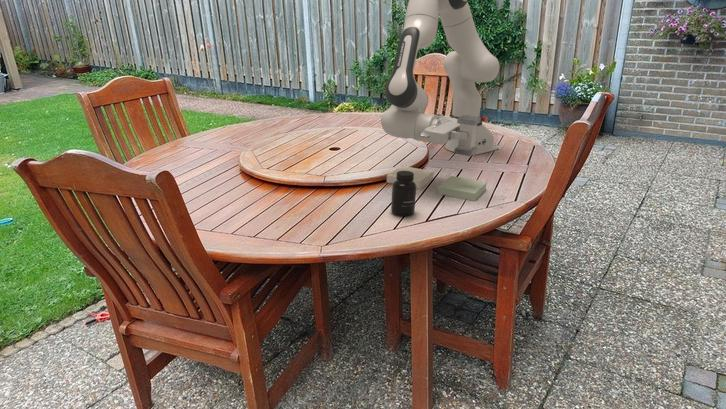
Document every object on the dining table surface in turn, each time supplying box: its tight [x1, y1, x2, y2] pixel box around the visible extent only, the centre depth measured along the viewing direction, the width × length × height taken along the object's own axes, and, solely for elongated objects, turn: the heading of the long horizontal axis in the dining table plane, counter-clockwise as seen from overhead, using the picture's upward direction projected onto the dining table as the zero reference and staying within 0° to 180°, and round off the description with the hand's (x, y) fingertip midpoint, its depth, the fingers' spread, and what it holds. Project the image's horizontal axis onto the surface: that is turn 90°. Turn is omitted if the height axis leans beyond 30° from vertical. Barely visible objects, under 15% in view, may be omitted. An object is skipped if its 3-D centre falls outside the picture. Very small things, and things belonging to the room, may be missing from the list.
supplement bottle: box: [390, 171, 417, 217], centre depth 139 cm, size 7×7×12 cm
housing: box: [453, 115, 482, 157], centre depth 151 cm, size 6×6×11 cm
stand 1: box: [386, 165, 435, 189], centre depth 167 cm, size 12×12×2 cm
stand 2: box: [437, 175, 488, 202], centre depth 157 cm, size 12×12×2 cm
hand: (470, 134), depth 150 cm, fingers closed on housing, 4 cm apart
